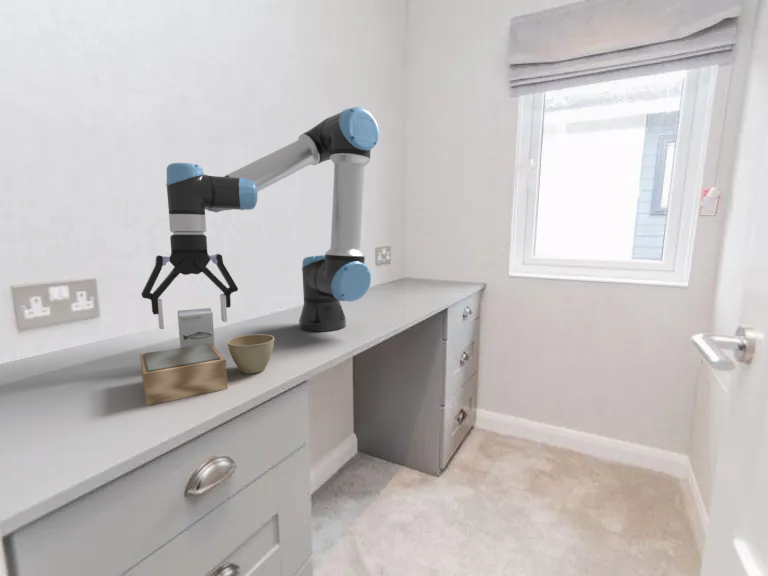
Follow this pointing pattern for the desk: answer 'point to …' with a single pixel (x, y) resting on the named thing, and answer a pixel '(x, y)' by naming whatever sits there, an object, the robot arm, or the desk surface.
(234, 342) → the flower pot
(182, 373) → the wooden box
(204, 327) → the supplement box
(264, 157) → the robot arm
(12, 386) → the desk surface
